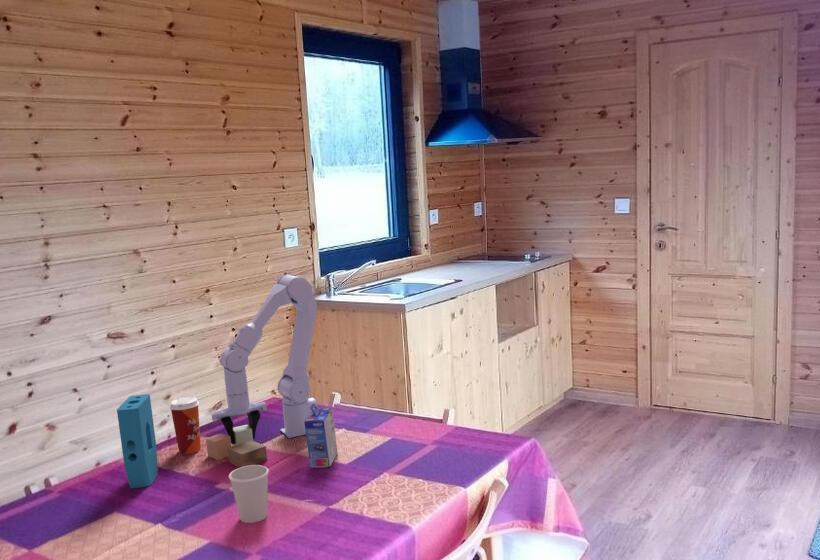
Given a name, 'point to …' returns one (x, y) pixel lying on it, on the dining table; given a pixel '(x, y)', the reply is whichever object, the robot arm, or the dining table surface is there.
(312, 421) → the ink cartridge box
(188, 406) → the paper cup
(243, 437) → the sage cube
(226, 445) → the terracotta cube
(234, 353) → the robot arm
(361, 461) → the dining table surface
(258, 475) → the dixie cup
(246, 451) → the walnut base
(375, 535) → the dining table surface
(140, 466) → the block
